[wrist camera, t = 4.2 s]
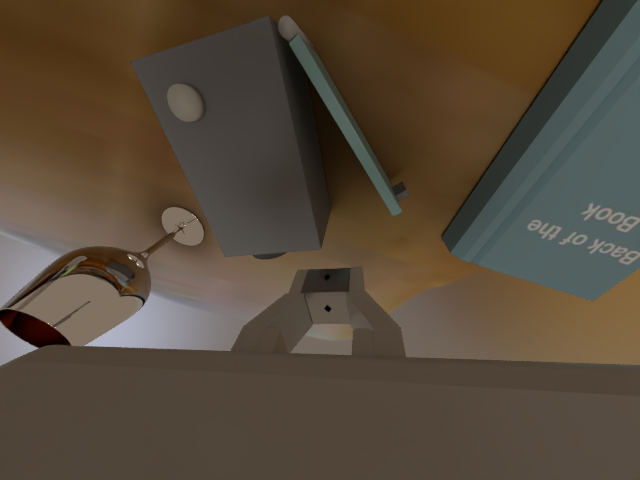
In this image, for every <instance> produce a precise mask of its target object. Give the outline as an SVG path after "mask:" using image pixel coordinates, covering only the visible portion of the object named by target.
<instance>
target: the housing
mask: <svg viewBox="0 0 640 480" xmlns="http://www.w3.org/2000/svg"><path fill="white" fill-rule="evenodd" d="M289 43H290V42H288V41H287V40H286V39H285V38H284V37H282V36H281V34H280V33H279V30H278V24H277V23H276V22H275V21H274V20H273V19H272V18H271V17H270V16H266V17H263V18H260V19H257V20H254V21H251V22H248V23H245V24H242V25H239V26H236V27H233V28H230V29H227V30H224V31H221V32H218V33H215V34H212V35H209V36H206V37H203V38H200V39H197V40H194V41H191V42H188V43H185V44H181V45H178V46H175V47H172V48H169V49H166V50H163V51H160V52H157V53H154V54H151V55H148V56H145V57H142V58H139V59H136V60H133V61H130V62H131V64H132V66H133V68H134V71H135V73H136V75H137V77H138V79H139V81H140V83H141V85H142V87H143V89H144V91H145V93H146V95H147V97H148V99H149V101H150V103H151V106H152V108H153V110H154V112H155V114H156V116H157V118H158V120H159V122H160V124H161V126H162V128H163V130H164V132H165V134H166V136H167V139H168V141H169V143H170V145H171V147H172V149H173V151H174V153H175V155H176V157H177V159H178V161H179V163H180V165H181V167H182V169H183V171H184V174H185V176H186V178H187V180H188V182H189V184H190V186H191V188H192V190H193V192H194V194H195V196H196V198H197V200H198V202H199V204H200V207H201V209H202V211H203V213H204V215H205V217H206V219H207V221H208V223H209V225H210V227H211V229H212V231H213V233H214V235H215V237H216V239H217V242H218V244H219V246H220V248H221V250H222V252H223V254H224V256H225V257H232V256H245V255H253V256H254V257H255V258H257V259H272V258H276V257H279V256H281V255H283V254H285V253H287V252H296V251H309V250H321V248H322V244H323V240H324V236H325V232H326V228H327V224H328V220H329V216H330V212H331V206H330V200H329V194H328V189H327V183H326V178H325V172H324V166H323V161H322V155H321V149H320V144H319V138H318V132H317V127H316V121H315V115H314V110H313V104H312V99H311V93H310V87H309V82H308V76H307V73H306V71H305V70H304V68H303V67H302V65H301V63H300V62H299V60H298V58H297V57H296V55H295V53H294V52H293V50H292V48H291V47H290V45H289Z"/></svg>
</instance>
